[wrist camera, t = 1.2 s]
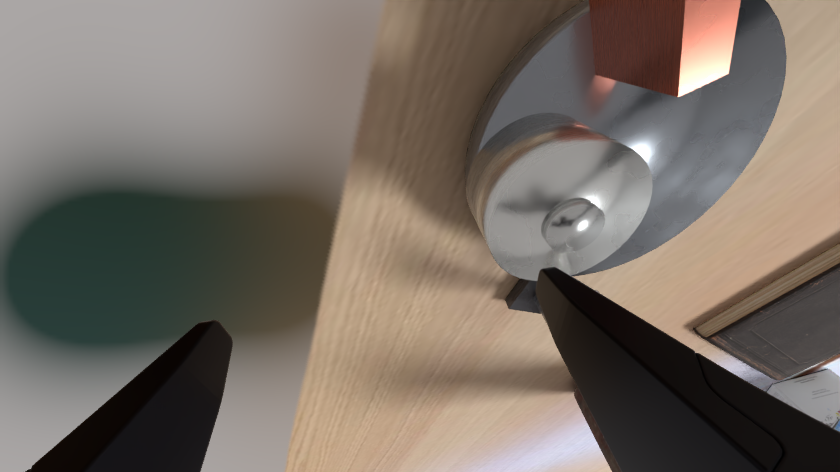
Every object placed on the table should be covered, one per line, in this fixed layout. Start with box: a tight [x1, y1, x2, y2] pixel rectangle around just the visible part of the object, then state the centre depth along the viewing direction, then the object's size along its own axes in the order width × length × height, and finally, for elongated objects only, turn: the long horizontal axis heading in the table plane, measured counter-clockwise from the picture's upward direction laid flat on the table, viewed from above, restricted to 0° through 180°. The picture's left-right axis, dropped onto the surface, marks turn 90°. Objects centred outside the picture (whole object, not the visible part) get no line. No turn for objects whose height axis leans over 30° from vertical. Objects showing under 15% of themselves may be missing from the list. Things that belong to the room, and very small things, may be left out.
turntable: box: [465, 0, 786, 276], centre depth 15 cm, size 16×16×6 cm
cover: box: [466, 113, 653, 281], centre depth 14 cm, size 7×7×5 cm
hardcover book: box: [693, 243, 840, 380], centre depth 34 cm, size 16×23×2 cm
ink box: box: [767, 369, 840, 432], centre depth 44 cm, size 9×8×12 cm
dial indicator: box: [505, 278, 599, 325], centre depth 22 cm, size 4×6×10 cm, turn 161°
